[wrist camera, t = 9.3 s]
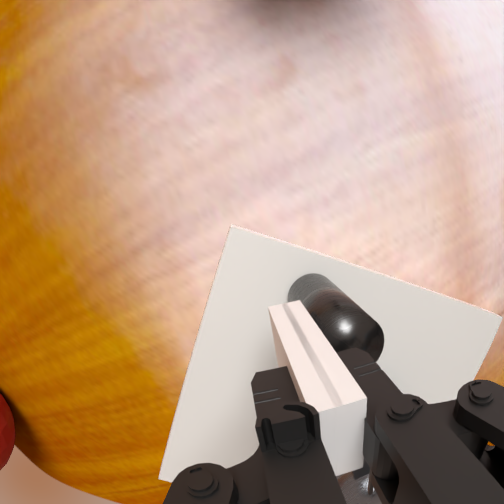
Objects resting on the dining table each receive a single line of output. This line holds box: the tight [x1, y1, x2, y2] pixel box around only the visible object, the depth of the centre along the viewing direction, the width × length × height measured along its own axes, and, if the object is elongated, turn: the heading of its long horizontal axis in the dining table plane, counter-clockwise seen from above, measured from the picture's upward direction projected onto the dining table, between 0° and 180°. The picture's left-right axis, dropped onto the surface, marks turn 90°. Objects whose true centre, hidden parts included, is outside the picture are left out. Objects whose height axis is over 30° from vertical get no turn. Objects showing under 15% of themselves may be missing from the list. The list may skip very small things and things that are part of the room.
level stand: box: [159, 224, 503, 482], centre depth 16 cm, size 22×20×8 cm
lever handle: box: [288, 273, 384, 504], centre depth 15 cm, size 19×9×6 cm, turn 17°
